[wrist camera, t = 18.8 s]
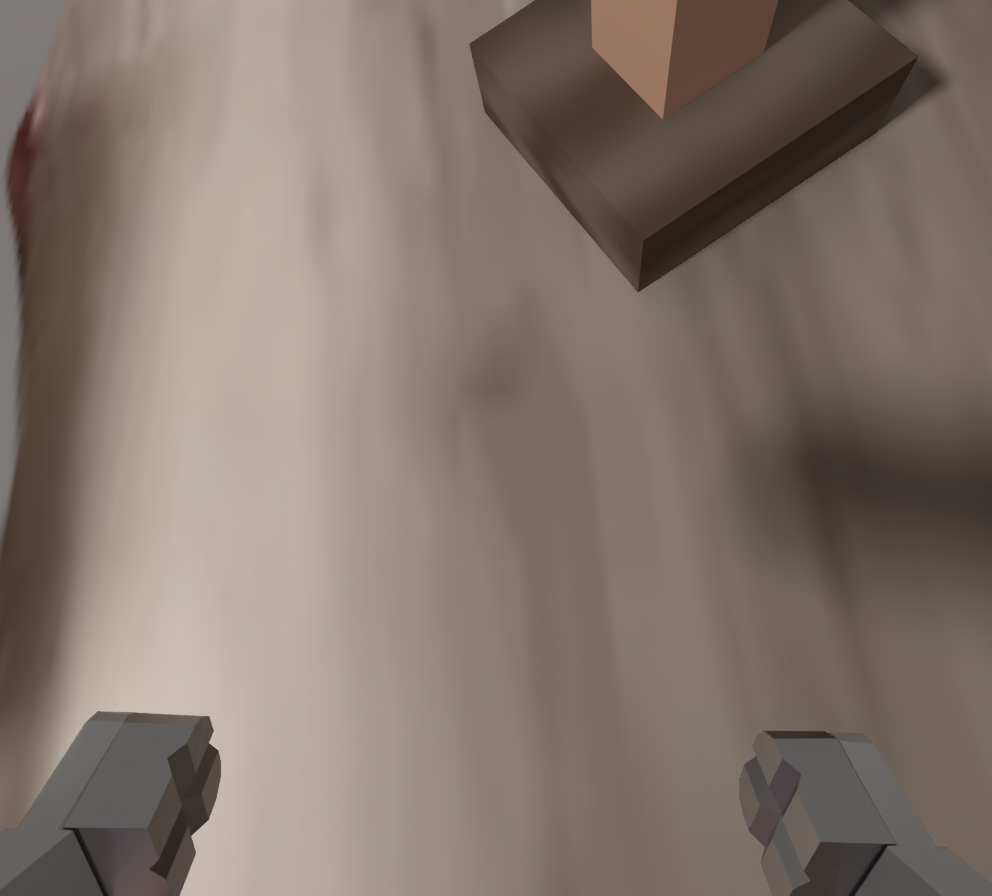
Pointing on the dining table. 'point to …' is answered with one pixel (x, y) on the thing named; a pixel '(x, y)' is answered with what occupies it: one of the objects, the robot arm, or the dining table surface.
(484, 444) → the dining table surface
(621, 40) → the terracotta block
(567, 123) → the walnut plinth
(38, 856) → the robot arm
